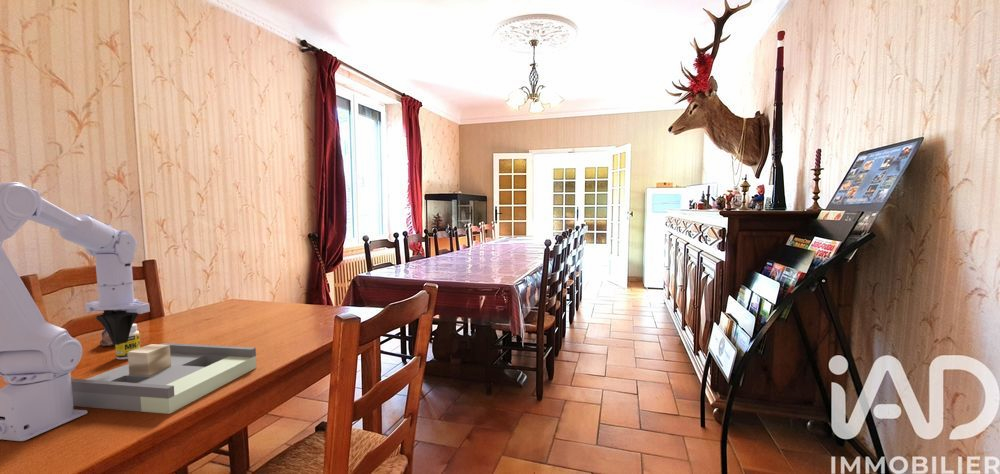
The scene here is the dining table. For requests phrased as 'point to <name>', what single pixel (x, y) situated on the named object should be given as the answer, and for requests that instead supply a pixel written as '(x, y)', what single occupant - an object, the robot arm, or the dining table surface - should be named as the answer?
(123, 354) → the supplement bottle
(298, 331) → the dining table surface
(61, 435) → the dining table surface
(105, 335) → the skull
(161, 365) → the birch block
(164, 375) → the board
